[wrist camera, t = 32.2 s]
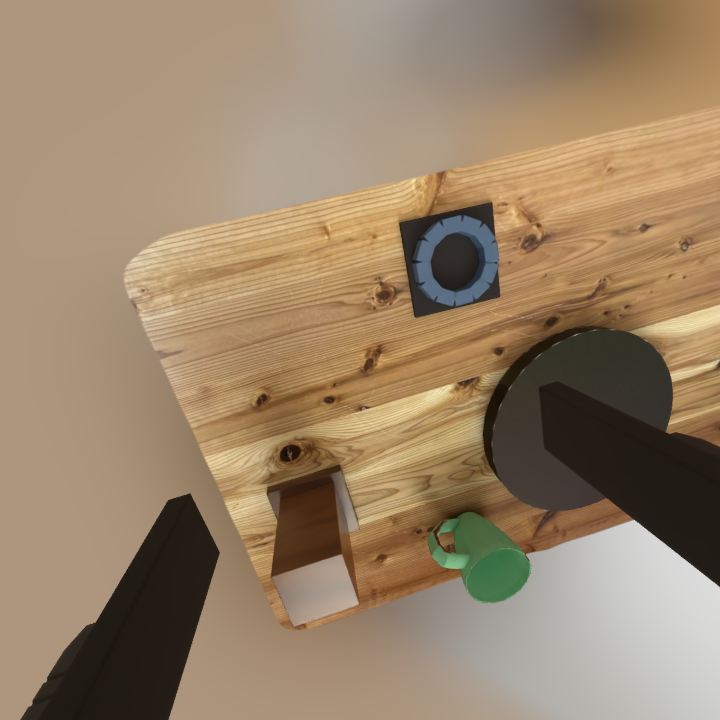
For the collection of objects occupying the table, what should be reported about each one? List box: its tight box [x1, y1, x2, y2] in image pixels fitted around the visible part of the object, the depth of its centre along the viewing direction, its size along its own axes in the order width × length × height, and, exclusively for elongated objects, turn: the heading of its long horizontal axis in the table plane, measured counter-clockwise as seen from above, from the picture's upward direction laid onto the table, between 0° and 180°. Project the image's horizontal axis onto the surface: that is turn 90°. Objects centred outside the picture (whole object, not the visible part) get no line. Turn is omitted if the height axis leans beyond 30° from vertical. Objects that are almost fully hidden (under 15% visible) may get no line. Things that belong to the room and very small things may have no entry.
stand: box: [267, 465, 360, 627], centre depth 44 cm, size 11×11×14 cm
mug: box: [428, 512, 531, 603], centre depth 51 cm, size 15×10×10 cm
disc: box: [483, 326, 673, 511], centre depth 52 cm, size 30×30×3 cm
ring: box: [412, 215, 499, 306], centre depth 42 cm, size 11×11×2 cm
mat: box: [399, 202, 500, 318], centre depth 43 cm, size 12×12×1 cm
